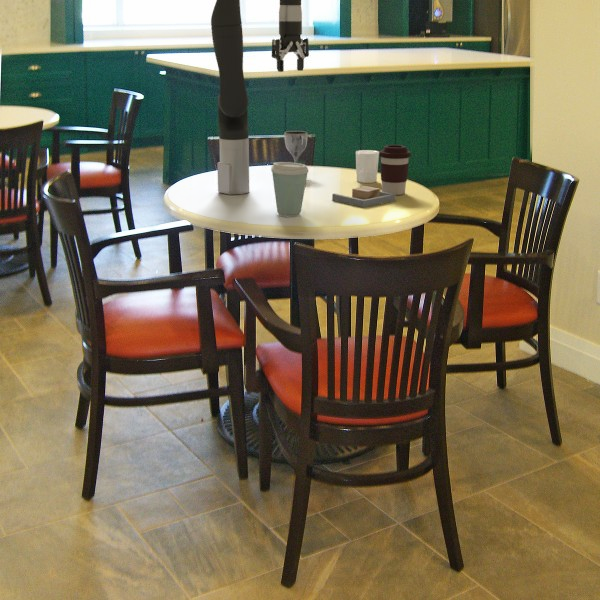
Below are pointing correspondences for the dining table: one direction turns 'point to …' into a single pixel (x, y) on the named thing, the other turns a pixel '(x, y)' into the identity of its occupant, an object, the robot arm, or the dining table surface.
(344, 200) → the grey corral
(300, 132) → the wine glass
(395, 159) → the coffee cup
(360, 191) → the walnut block
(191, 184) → the dining table surface
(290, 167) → the disposable coffee cup
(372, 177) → the white cup
